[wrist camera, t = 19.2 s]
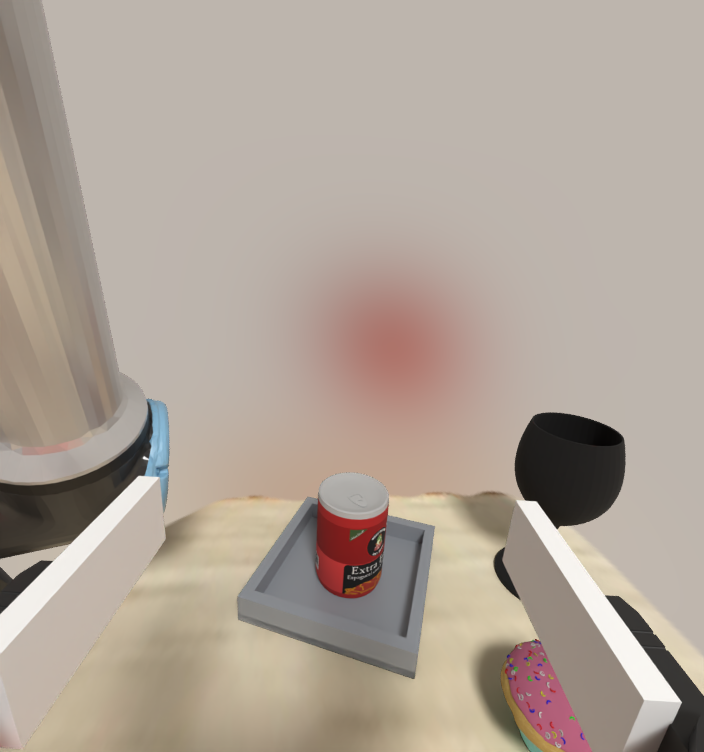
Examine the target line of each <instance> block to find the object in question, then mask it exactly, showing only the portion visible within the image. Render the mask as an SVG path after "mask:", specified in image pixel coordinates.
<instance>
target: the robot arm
mask: <svg viewBox="0 0 704 752" xmlns="http://www.w3.org/2000/svg"><path fill="white" fill-rule="evenodd" d="M168 464H169V422H168V412H167V407H166V405H165V404H164V403H163V402H161V401H154V400H152V399H146V398H145V395H144V393H143V390H142V389H141V388H140V386H139V385H138V384H137V383H136V382H135V381H134V380H132V379H131V378H129V377H128V376H126V375H125V374H123V373H120V372H119V368H118V364H117V359H116V354H115V349H114V344H113V340H112V335H111V330H110V325H109V321H108V316H107V311H106V307H105V301H104V297H103V292H102V287H101V282H100V277H99V273H98V268H97V263H96V258H95V253H94V249H93V244H92V239H91V234H90V229H89V225H88V220H87V215H86V211H85V205H84V201H83V196H82V191H81V186H80V181H79V177H78V172H77V167H76V162H75V158H74V153H73V148H72V143H71V138H70V134H69V129H68V124H67V119H66V114H65V110H64V105H63V100H62V96H61V91H60V86H59V81H58V76H57V71H56V67H55V62H54V57H53V53H52V47H51V43H50V38H49V33H48V28H47V23H46V19H45V14H44V9H43V5H42V0H0V559H1V558H6V557H11V556H15V555H20V554H25V553H30V552H34V551H39V550H44V549H49V548H53V547H58V546H63V545H68V544H70V545H69V546H68V547H67V548H66V549H65V550H64V551H63V552H62V553H61V554H60V555H59V556H58V557H57V558H56V559H55V560H54V561H40V562H38V563H37V564H35V565H33V566H32V567H30V568H28V569H27V570H25V571H23V572H22V573H20V574H19V575H18V576H16V577H15V578H14V579H12V578H11V577H10V576H9V575H8V574H7V573H6V572H5V571H4V570H3V569H2V568H1V567H0V748H12V749H23V748H24V747H25V745H26V744H27V742H28V741H29V739H30V738H31V736H32V735H33V733H34V732H35V730H36V729H37V727H38V726H39V724H40V723H41V722H42V720H43V719H44V717H45V716H46V714H47V713H48V711H49V710H50V708H51V707H52V705H53V704H54V702H55V701H56V700H57V698H58V697H59V695H60V694H61V692H62V691H63V689H64V688H65V686H66V685H67V683H68V682H69V680H70V679H71V678H72V676H73V675H74V673H75V672H76V670H77V669H78V667H79V666H80V664H81V663H82V661H83V660H84V658H85V657H86V655H87V654H88V653H89V651H90V650H91V648H92V647H93V645H94V644H95V642H96V641H97V639H98V638H99V636H100V635H101V633H102V632H103V631H104V629H105V628H106V626H107V625H108V623H109V622H110V620H111V619H112V617H113V616H114V614H115V613H116V611H117V610H118V609H119V607H120V606H121V604H122V603H123V601H124V600H125V598H126V597H127V595H128V594H129V592H130V591H131V589H132V588H133V586H134V585H135V584H136V582H137V581H138V579H139V578H140V576H141V575H142V573H143V572H144V570H145V569H146V567H147V566H148V564H149V563H150V562H151V560H152V559H153V557H154V556H155V554H156V553H157V551H158V550H159V548H160V547H161V545H162V544H163V542H164V541H165V540H166V535H165V525H164V516H163V513H164V511H165V507H166V501H167V494H168V476H169V475H168V469H167V468H168V466H169V465H168ZM502 561H503V563H504V565H505V568H506V570H507V572H508V574H509V576H510V578H511V580H512V582H513V585H514V587H515V589H516V591H517V593H518V595H519V597H520V599H521V602H522V604H523V606H524V608H525V610H526V612H527V614H528V616H529V619H530V621H531V623H532V625H533V627H534V629H535V631H536V633H537V636H538V638H539V640H540V642H541V644H542V646H543V648H544V650H545V653H546V655H547V657H548V659H549V661H550V663H551V665H552V667H553V670H554V672H555V674H556V676H557V678H558V680H559V682H560V684H561V687H562V689H563V691H564V693H565V695H566V697H567V699H568V701H569V704H570V706H571V708H572V710H573V712H574V714H575V716H576V718H577V721H578V723H579V725H580V727H581V729H582V731H583V733H584V735H585V738H586V740H587V742H588V744H589V746H590V748H591V750H592V752H704V696H703V694H702V693H701V692H700V691H699V689H698V688H697V687H696V685H695V684H694V683H693V682H692V680H691V679H690V678H689V677H688V675H687V674H686V673H685V671H684V670H683V669H682V668H681V666H680V665H679V664H678V663H677V661H676V660H675V659H674V657H673V656H672V655H671V654H670V652H669V651H666V649H665V646H664V645H663V643H662V642H661V641H660V640H659V638H658V637H657V636H656V635H654V634H653V631H652V629H651V628H650V627H649V625H648V624H647V623H646V622H645V620H644V619H643V618H642V617H641V615H640V614H639V613H638V612H637V611H636V610H635V609H633V608H632V607H631V606H630V605H629V604H627V603H626V602H625V601H624V600H623V599H622V598H620V597H619V596H606V595H604V594H603V593H602V591H601V590H600V589H599V587H598V586H597V584H596V583H595V582H594V580H593V579H592V578H591V576H590V575H589V573H588V572H587V571H586V569H585V568H584V566H583V565H582V564H581V562H580V561H579V560H578V558H577V557H576V555H575V554H574V553H573V551H572V550H571V548H570V547H569V546H568V544H567V543H566V542H565V540H564V539H563V537H562V536H561V535H560V533H559V532H558V531H557V529H556V528H555V526H554V525H553V524H552V522H551V521H550V519H549V518H548V517H547V515H546V514H545V513H544V511H543V510H542V508H541V507H540V506H539V504H538V503H537V502H536V501H521V500H516V502H515V506H514V510H513V515H512V519H511V524H510V528H509V533H508V537H507V542H506V546H505V550H504V555H503V559H502Z"/></svg>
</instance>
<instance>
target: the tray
mask: <svg viewBox="0 0 704 752" xmlns="http://www.w3.org/2000/svg"><path fill="white" fill-rule="evenodd" d="M317 509H318V499H316V498H311V497H307V498H306V500H305V501H304V503H303V504H302V505H301V507H300V508H299V510H298V511H297V513H296V514H295V515H294V517H293V518H292V520H291V521H290V523H289V524H288V525H287V527H286V528H285V530H284V531H283V533H282V534H281V535H280V537H279V538H278V540H277V541H276V542H275V544H274V545H273V547H272V548H271V550H270V551H269V552H268V554H267V555H266V557H265V558H264V560H263V561H262V562H261V564H260V565H259V567H258V568H257V570H256V571H255V572H254V574H253V575H252V577H251V578H250V580H249V581H248V582H247V584H246V585H245V587H244V588H243V589H242V591H241V592H240V594H239V595H238V620H241V621H244V622H247V623H250V624H253V625H256V626H259V627H262V628H265V629H267V630H270V631H273V632H276V633H279V634H282V635H285V636H288V637H291V638H294V639H297V640H300V641H303V642H306V643H309V644H312V645H315V646H318V647H321V648H324V649H327V650H330V651H332V652H335V653H338V654H341V655H344V656H347V657H350V658H353V659H356V660H359V661H362V662H365V663H368V664H371V665H374V666H377V667H380V668H383V669H386V670H389V671H392V672H395V673H397V674H400V675H403V676H406V677H409V678H412V679H414V678H415V671H416V664H417V658H418V650H419V643H420V635H421V628H422V620H423V612H424V605H425V597H426V590H427V582H428V575H429V567H430V559H431V552H432V544H433V537H434V529H435V526H432V525H427V524H423V523H419V522H414V521H410V520H406V519H402V518H397V517H393V516H389V515H388V517H387V526H386V536H385V545H384V554H383V564H382V573H381V577H380V580H379V582H378V584H377V585H376V587H375V589H374V590H373V591H372V592H370V593H369V594H367V595H365V596H363V597H359V598H343V597H339V596H336V595H334V594H332V593H330V592H329V591H328V590H327V589H325V588H324V587H323V585H322V584H321V582H320V580H319V578H318V575H317V572H316V540H317Z"/></svg>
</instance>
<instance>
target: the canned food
mask: <svg viewBox="0 0 704 752" xmlns="http://www.w3.org/2000/svg"><path fill="white" fill-rule="evenodd" d="M388 505H389V494H388V491H387V489H386V487H385V486H384V485H383V484H382V483H381V482H379V481H378V480H376V479H374V478H373V477H370V476H368V475H364V474H359V473H340V474H335V475H332V476H330V477H328V478H326V479H325V480H324V481H323V482H322V483H321V485H320V487H319V492H318V509H317V540H316V572H317V575H318V578H319V580H320V582H321V584H322V585H323V587H324V588H325V589H327V590H328V591H329V592H330V593H332V594H334V595H336V596H339V597H343V598H359V597H363V596H365V595H367V594H369V593H370V592H372V591H373V590H374V589H375V587H376V585H377V584H378V582H379V580H380V577H381V573H382V564H383V554H384V545H385V536H386V526H387V517H388Z"/></svg>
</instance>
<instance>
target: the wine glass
mask: <svg viewBox="0 0 704 752" xmlns="http://www.w3.org/2000/svg"><path fill="white" fill-rule="evenodd" d="M624 473H625V444H624V438H623V436H622V435H621V434H620V433H619V432H617V431H616V430H614V429H613V428H611V427H609V426H607V425H604V424H602V423H600V422H597V421H594V420H591V419H588V418H584V417H580V416H576V415H571V414H564V413H541V414H537V415H535V416H533V418H532V419H531V421H530V423H529V424H528V426H527V428H526V429H525V431H524V433H523V435H522V437H521V440H520V442H519V445H518V449H517V453H516V458H515V476H516V481H517V485H518V487H519V489H520V492H521V494H522V496H523V497H524V499H525V500H526V501H536V502H537V503H538V504H539V506H540V507H541V508H542V510H543V511H544V513H545V514H546V515H547V517H548V518H549V519H550V521H551V522H552V524H553V525H554V526H555V528H556V529H558V528H559V527H560V526H572V525H578V524H582V523H586V522H589V521H591V520H594V519H596V518H598V517H599V516H601V515H602V514H603V513H605V512H606V511H607V510H608V509H609V508H610V507H611V506H612V504H613V503H614V501H615V500H616V498H617V497H618V495H619V492H620V490H621V487H622V484H623V479H624ZM504 550H505V548H503V549H502V550H500V551H499V552H498V553H497V555H496V558H495V570H496V573H497V575H498V577H499V579H500V581H501V582H502V583H503V585H504V586H505V587H506V588H507V589H508V590H509V591H510V592H511V593H512V594H513V595H515V596H516V597H517V598H519V599H520V597H519V595H518V593H517V591H516V589H515V587H514V585H513V582H512V580H511V578H510V576H509V574H508V572H507V570H506V568H505V565H504V563H503V561H502V559H503V555H504ZM520 600H521V599H520Z"/></svg>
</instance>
